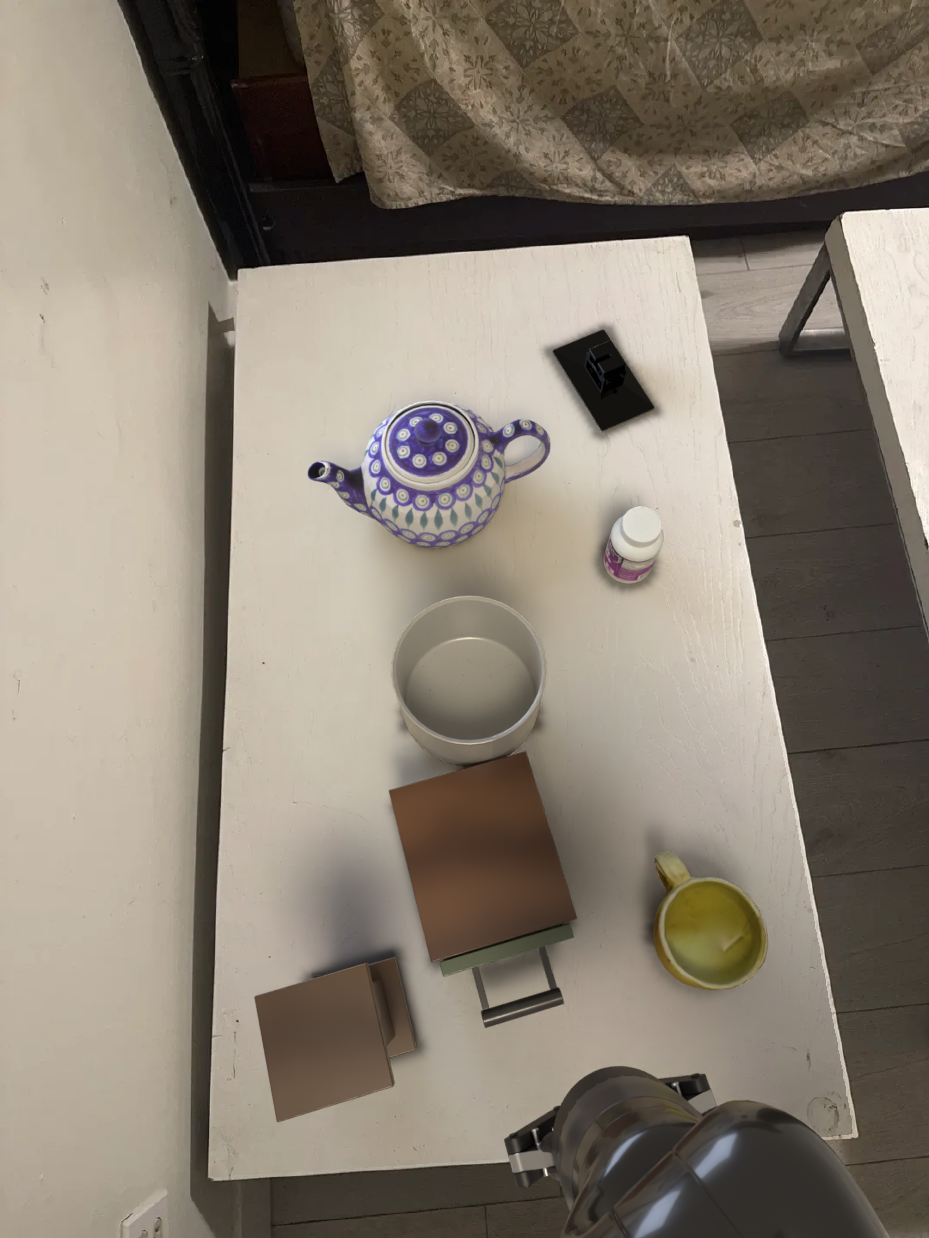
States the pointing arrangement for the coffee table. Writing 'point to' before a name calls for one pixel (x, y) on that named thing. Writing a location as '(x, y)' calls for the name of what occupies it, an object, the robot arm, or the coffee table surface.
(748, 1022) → the coffee table surface
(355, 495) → the teapot
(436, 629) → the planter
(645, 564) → the pill bottle
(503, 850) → the cabinet
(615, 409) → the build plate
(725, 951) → the mug
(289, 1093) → the stand
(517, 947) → the drawer
